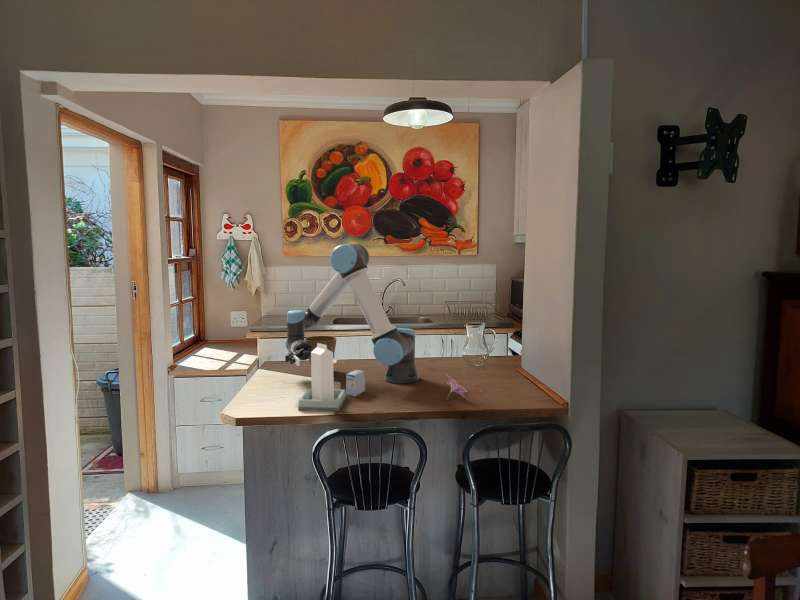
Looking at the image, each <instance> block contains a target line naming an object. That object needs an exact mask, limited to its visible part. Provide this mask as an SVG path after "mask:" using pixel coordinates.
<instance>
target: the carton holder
mask: <svg viewBox="0 0 800 600" xmlns="http://www.w3.org/2000/svg"><path fill="white" fill-rule="evenodd" d="M346 399H347V395H346V389H337V388H334V400H312V388H308V389H307V390H306V392H304V393H303V395H302V396H301V397H300V398H299V399H298V406H297V407H298V408H297V409H298V411H311V410H316V411H315V412H317V411H318V412H320V411H321V412H339V411H340V409H341V408H342V406H343V404H344V403H343V402H345V401H346ZM340 407H341V408H340Z"/></svg>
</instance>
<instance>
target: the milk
mask: <svg viewBox="0 0 800 600" xmlns="http://www.w3.org/2000/svg"><path fill="white" fill-rule="evenodd" d="M310 372H311V379H310V381H311V389H312V400H334V389H335V386H334V383H335V382H334V381H335V380H334V358H333V352H331V351H330V350H328V349H327V345H324V344H320V343H317V347H316V348H315V349H314V350H313V351H312V352H311V365H310Z"/></svg>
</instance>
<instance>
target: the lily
mask: <svg viewBox="0 0 800 600" xmlns="http://www.w3.org/2000/svg"><path fill="white" fill-rule="evenodd" d="M444 374H445V376H446V377H447V379H448V381H446V384H447V385H448V386H450V392H449V393H448V395H447V397H446V399H447V398H448V399H449V397H450V395H451V393H452V392H455V393H456V394H457V393H458V394H460V395H461V396H462V397H463V399H465V398H466V399H467V397H466V396H465V395H464V393H468V390H467V389H466V388H465V387H464V386H462V385H460V384H458V383H457V381H456V380H455V379H454V378H452V377H451V376H450V375H449V374H447V373H446V372H444ZM458 394H457V395H458Z"/></svg>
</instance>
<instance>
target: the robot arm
mask: <svg viewBox="0 0 800 600" xmlns="http://www.w3.org/2000/svg"><path fill="white" fill-rule="evenodd" d="M329 261H330V264H331V267H332V269H333V270H334V271H335V272H336V273H335V274H334V275H333V276H332V278H331V279H330V281H328V283H327V284H326V285H325V286H324V288H323V289H322V290H321V292H320V293H318V295H317V296H316V297H315V299H314V300H313V301H312V303H311V304H310V305H309V306H308V308H307V309H306V310H305V311H303V310H300V309H299V310H298V309H295V310H288V311H287V313H286V331H287V332H286V333H287V334H286V335H287V337H286V338H287V339H286V341H285V343H284V344H285V348H286V349H287V351H288V352H287V354H285V355H284V359H285V361H284V362H285V363H289V362H290V365H292V364H295V365H296V366H297V367H299V366H301V365H300V361H306V360H309V358H311V352H312V351H313V350H314V349H312V347H311V346H310V345H309V344H308V343H307V342H305V330H307V329H311V328H315V327H317V326H318V325H319V324H320V323H321V321H322V318H323V316H324V315H325V314H326V313H327V312H328V310H329V309H330V307H331V306H332V305H333V304H334V303H335V302H336V300H338V298H339V296H341V294H342V293H343V292H344V291H345V289H346V288H347V287H348V286H349V287H350V289H351V291H352V293H353V296H354V297H355V300H356V301H357V304H358V306H359V308H360V310H361V312H362V314H363V316H364V319H365V320H366V322H367V325H368V327H369V329H370V331H371V333H372V335H371V341H372V344H373V345H374V346H373V356H374V358H375V359H376V360H377V362H379V363H380V364H381V365H385V366H387V367H386V369H385V373H384V380H385V382H388V383H392V384H401V385H402V384H403V385H404V383H406V384H412V383H411V382H413V383H416V382H418V381H419V380H420V375H419V371H418V368H417V365H416V331H415V329H412V328H407V327H406V328H402V327H397V326H395V325H393V324H391V322H390V319H389V318H388V316H387V313H386V311H385V310H384V309H385V308H384V307H383V305H382V303H381V301H380V299H379V296H378V294H377V292H376V291H375V288H374V286H373V284H372V282H371V280H370V278H369V276H368V271H369V268H368V267H369V266H368V265H369V262H370V253H369V251H368V249H367V248H366V247H365V246H364V245H363V244H359V243H342V244H340V245H338V246H336V247H334V249H333V250H332V251H331V254H330V259H329ZM331 352H333V359H334V358H335V352H334V351H331ZM418 379H419V380H418ZM417 380H418V381H417ZM415 381H416V382H415Z"/></svg>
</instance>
